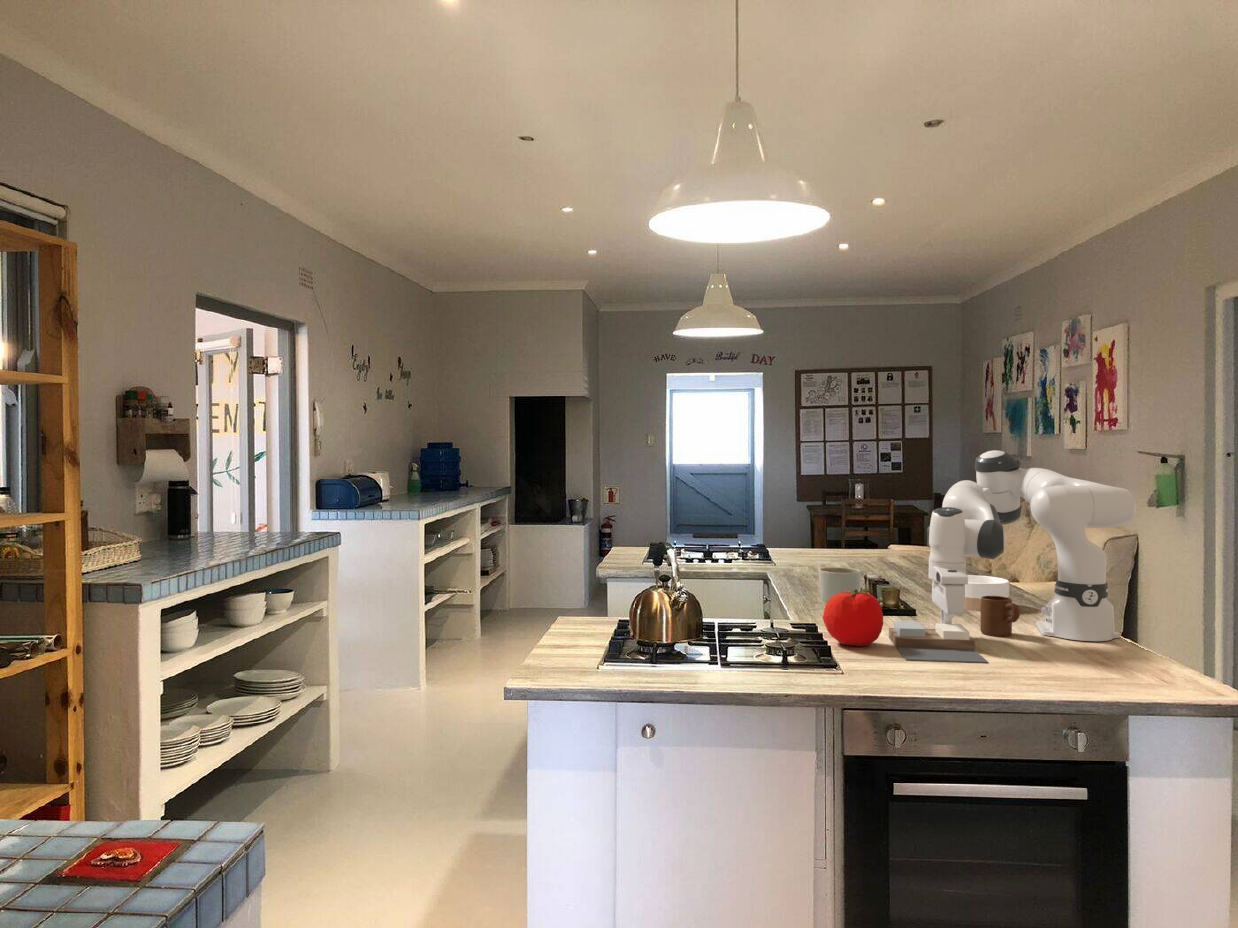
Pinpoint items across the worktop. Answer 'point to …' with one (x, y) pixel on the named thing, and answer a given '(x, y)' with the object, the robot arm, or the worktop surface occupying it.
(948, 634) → the ivory block
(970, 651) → the mat
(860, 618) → the tomato
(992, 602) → the mug
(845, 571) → the planter
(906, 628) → the light gray block
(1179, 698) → the worktop surface
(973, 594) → the bowl
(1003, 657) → the worktop surface
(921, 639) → the brown wooden flat board
